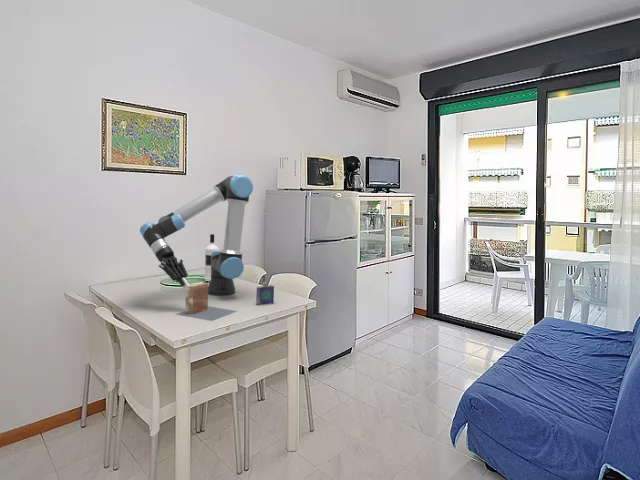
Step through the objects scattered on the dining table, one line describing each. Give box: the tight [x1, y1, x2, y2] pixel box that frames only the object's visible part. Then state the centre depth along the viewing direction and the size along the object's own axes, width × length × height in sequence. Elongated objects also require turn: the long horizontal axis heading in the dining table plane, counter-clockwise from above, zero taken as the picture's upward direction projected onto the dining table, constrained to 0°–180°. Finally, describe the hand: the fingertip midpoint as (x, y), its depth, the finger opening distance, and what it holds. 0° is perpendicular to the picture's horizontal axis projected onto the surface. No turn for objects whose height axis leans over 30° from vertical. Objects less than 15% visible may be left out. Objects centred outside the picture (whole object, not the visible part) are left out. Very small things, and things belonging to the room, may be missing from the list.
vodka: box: [203, 233, 220, 279], centre depth 249 cm, size 9×9×30 cm
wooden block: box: [184, 282, 209, 314], centre depth 178 cm, size 4×10×12 cm, turn 156°
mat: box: [176, 305, 238, 322], centre depth 177 cm, size 20×18×1 cm
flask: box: [255, 282, 275, 306], centre depth 198 cm, size 9×3×11 cm, turn 121°
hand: (189, 290), depth 179 cm, fingers closed
